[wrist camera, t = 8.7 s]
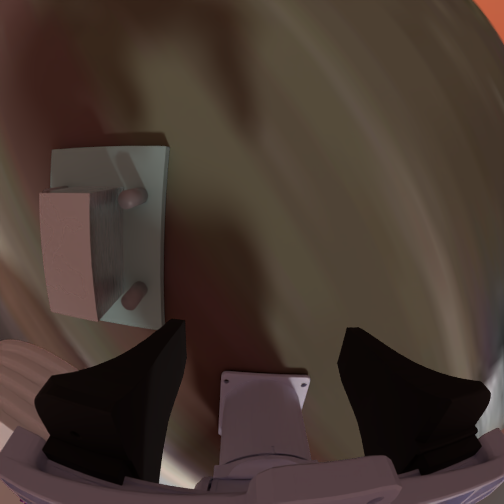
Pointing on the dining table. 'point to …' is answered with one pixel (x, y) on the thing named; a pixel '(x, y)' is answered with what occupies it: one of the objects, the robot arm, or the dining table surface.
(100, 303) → the pale pink block
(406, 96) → the dining table surface
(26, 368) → the plate stack
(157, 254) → the grey plate with pegs
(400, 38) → the dining table surface
